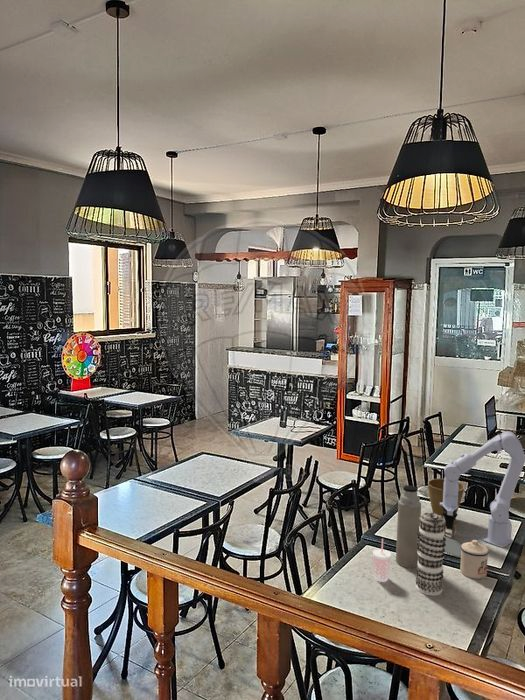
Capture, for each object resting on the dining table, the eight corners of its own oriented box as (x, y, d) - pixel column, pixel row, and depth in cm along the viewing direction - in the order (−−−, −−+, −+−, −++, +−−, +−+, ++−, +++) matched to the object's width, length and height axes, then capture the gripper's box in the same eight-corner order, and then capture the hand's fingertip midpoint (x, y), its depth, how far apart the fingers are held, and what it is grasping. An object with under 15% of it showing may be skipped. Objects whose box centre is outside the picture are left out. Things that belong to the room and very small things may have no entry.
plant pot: (419, 519, 234) (421, 483, 232) (437, 510, 244) (438, 476, 242) (451, 530, 223) (453, 492, 221) (468, 520, 233) (470, 485, 231)
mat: (445, 537, 215) (445, 536, 215) (474, 548, 206) (474, 547, 206) (429, 546, 207) (429, 545, 207) (458, 557, 198) (458, 556, 198)
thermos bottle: (398, 555, 199) (401, 482, 197) (420, 559, 196) (423, 485, 194) (393, 564, 192) (397, 488, 190) (416, 569, 189) (420, 492, 186)
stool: (442, 530, 222) (442, 515, 221) (455, 532, 220) (455, 517, 220) (442, 535, 217) (442, 520, 216) (455, 537, 215) (456, 522, 215)
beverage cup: (379, 584, 178) (381, 544, 177) (368, 576, 183) (369, 537, 182) (393, 580, 181) (395, 540, 180) (382, 572, 186) (383, 533, 185)
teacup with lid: (482, 582, 181) (484, 549, 180) (455, 573, 187) (457, 541, 186) (493, 569, 190) (495, 537, 189) (467, 561, 196) (469, 530, 195)
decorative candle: (411, 580, 181) (414, 509, 179) (438, 581, 181) (442, 510, 178) (418, 595, 172) (421, 520, 170) (447, 596, 172) (451, 521, 169)
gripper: (440, 486, 225) (438, 518, 226) (440, 498, 212) (438, 531, 213) (458, 489, 223) (456, 520, 224) (459, 500, 209) (457, 534, 210)
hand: (449, 526), depth 218 cm, fingers closed on stool, 5 cm apart
